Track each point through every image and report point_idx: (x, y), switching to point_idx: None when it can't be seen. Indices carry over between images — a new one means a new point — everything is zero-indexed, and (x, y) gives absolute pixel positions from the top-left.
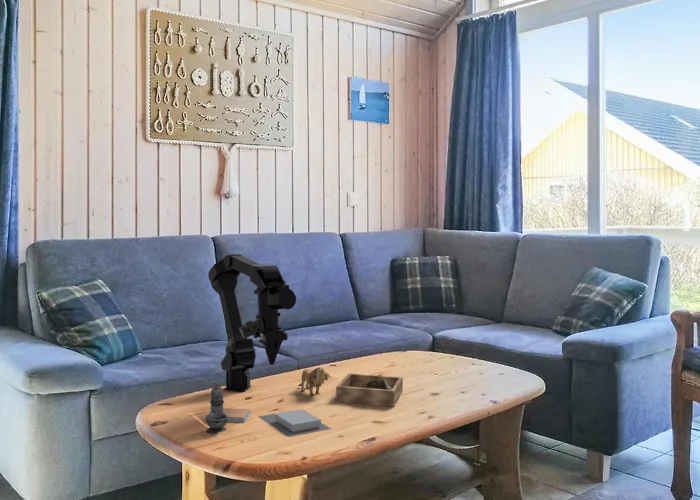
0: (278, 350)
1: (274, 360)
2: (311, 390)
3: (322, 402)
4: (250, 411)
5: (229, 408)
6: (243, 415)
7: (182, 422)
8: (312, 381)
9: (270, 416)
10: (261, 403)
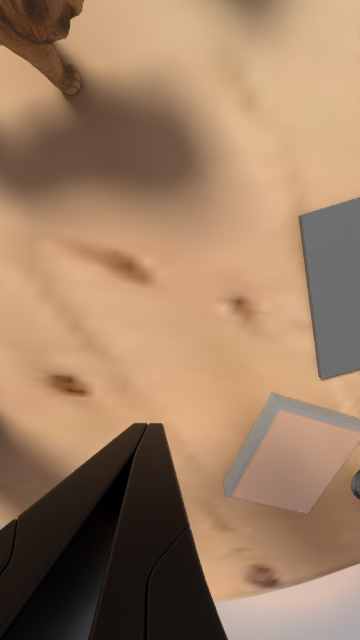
0: (204, 583)
1: (169, 452)
2: (59, 60)
3: (193, 36)
4: (289, 404)
5: (253, 465)
6: (344, 433)
7: (277, 542)
8: (63, 10)
9: (341, 341)
10: (149, 347)
